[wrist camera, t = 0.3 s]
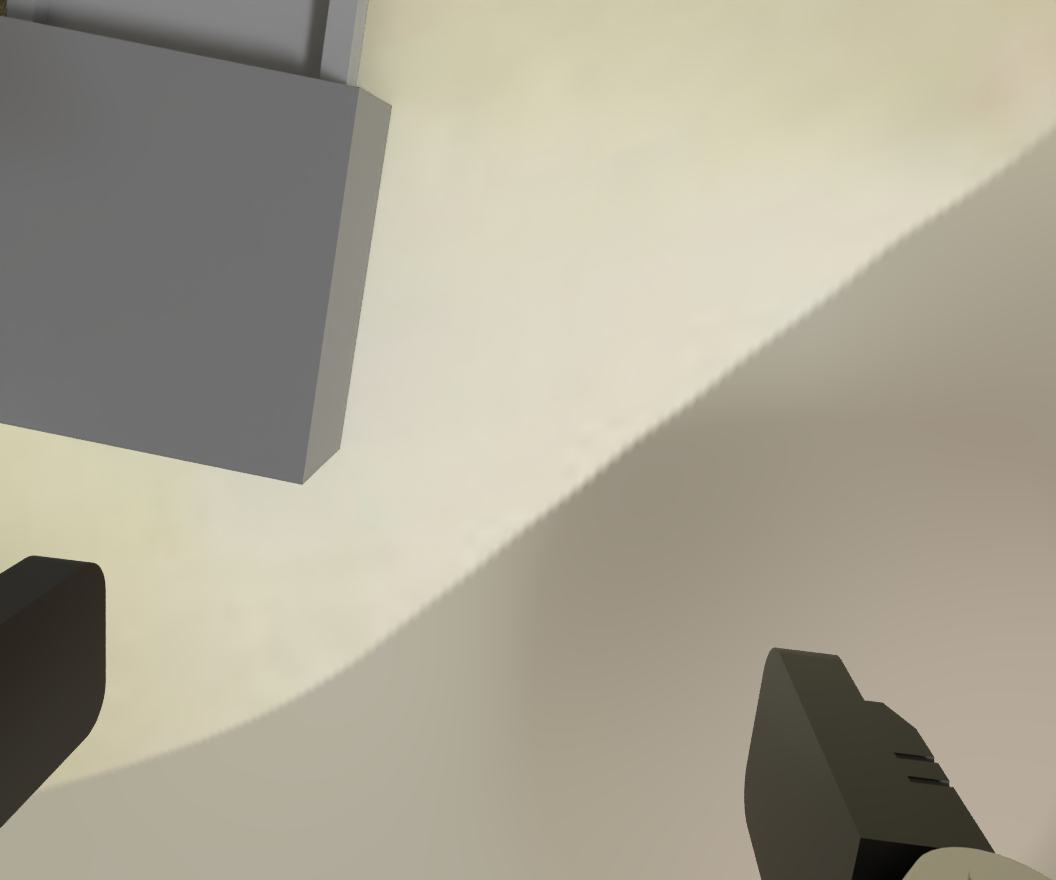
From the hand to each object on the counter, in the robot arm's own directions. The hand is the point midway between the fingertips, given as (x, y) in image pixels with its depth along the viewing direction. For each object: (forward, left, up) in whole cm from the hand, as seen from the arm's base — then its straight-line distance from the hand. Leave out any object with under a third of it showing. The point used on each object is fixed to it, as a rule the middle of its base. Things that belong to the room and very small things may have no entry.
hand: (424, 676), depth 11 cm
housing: (-1, -15, -28) cm, 32 cm away
